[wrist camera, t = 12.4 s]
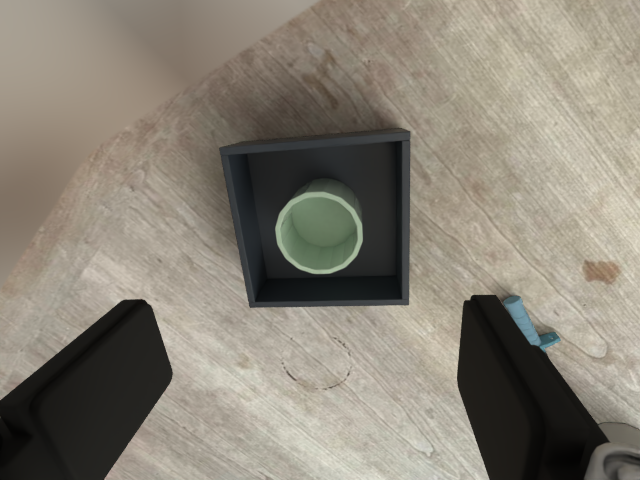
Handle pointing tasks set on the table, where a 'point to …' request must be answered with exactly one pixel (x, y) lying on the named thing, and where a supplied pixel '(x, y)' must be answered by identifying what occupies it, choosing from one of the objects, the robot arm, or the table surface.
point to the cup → (621, 433)
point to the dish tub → (283, 182)
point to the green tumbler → (320, 227)
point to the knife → (528, 324)
